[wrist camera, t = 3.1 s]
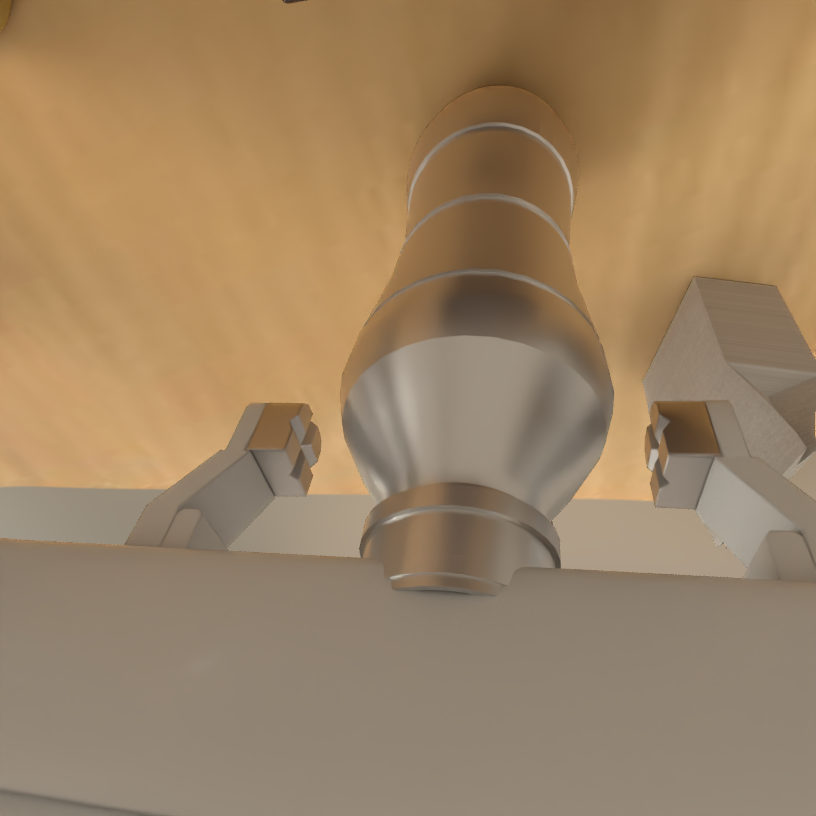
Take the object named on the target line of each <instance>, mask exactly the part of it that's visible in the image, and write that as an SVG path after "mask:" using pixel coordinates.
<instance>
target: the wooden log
mask: <svg viewBox="0 0 816 816" xmlns="http://www.w3.org/2000/svg"><path fill="white" fill-rule="evenodd" d="M11 5H12V0H0V32H1V31H2V30H3V28H4V26H5V25H6V23H7V21H8V18H9V15H10V11H11Z"/></svg>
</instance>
